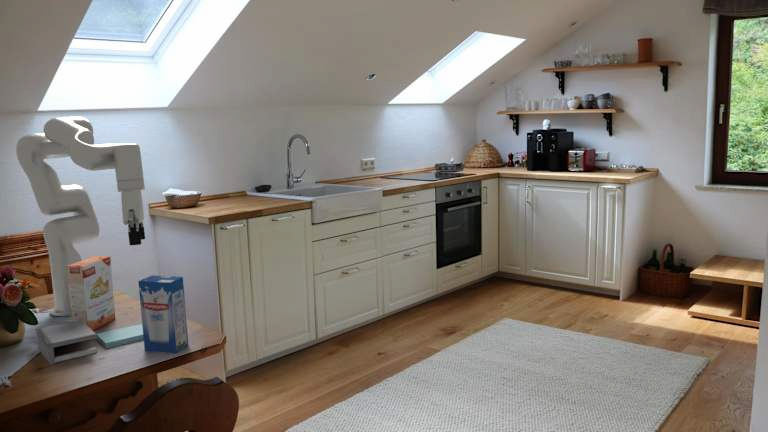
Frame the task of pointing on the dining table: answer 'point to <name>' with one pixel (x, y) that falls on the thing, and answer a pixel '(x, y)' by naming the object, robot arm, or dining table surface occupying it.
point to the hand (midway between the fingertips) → (137, 242)
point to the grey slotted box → (63, 339)
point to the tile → (121, 336)
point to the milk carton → (163, 314)
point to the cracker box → (91, 291)
